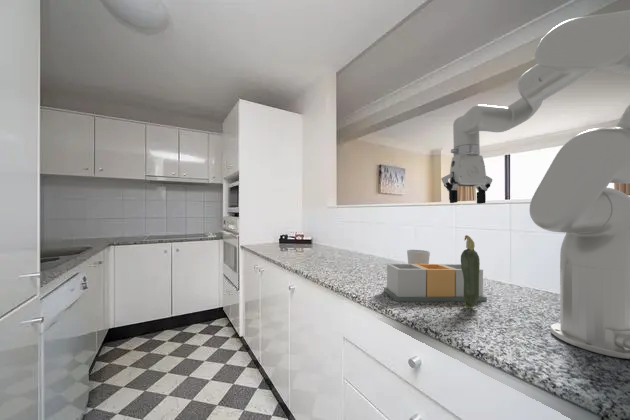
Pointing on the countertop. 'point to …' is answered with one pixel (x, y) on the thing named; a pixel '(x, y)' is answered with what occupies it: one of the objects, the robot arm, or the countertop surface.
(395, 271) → the compartment organizer
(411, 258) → the cup
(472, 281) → the vegetable
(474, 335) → the countertop surface
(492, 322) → the countertop surface
